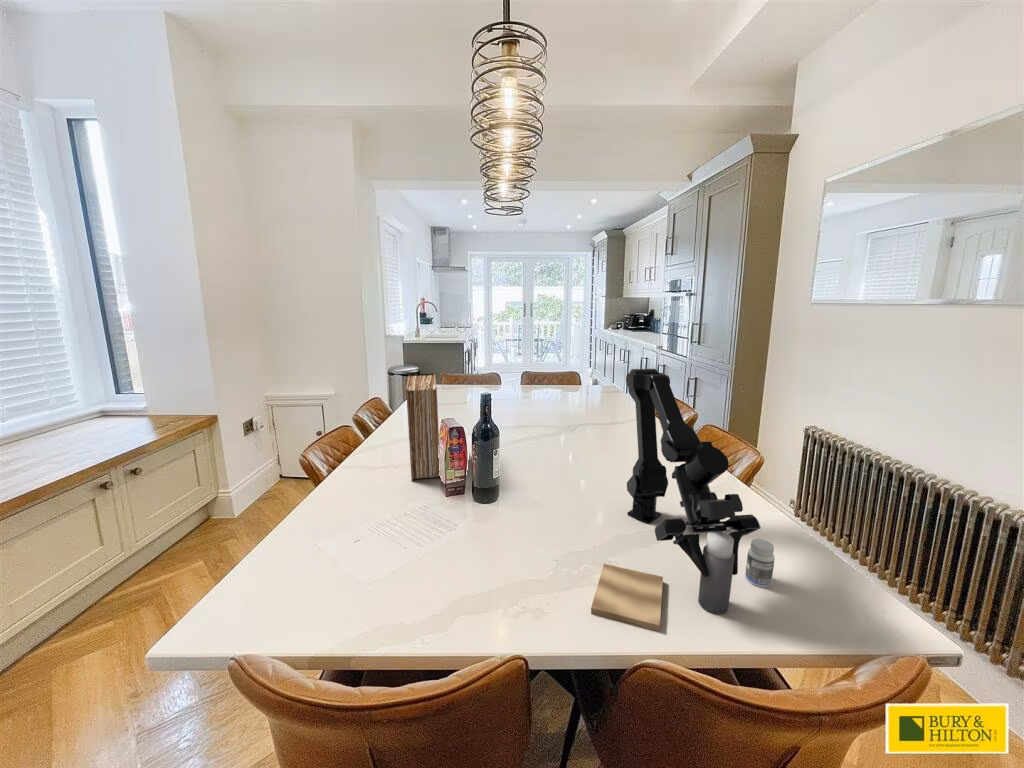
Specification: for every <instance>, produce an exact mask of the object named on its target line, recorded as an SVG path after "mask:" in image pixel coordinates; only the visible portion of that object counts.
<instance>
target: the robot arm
mask: <svg viewBox="0 0 1024 768" xmlns="http://www.w3.org/2000/svg"><path fill="white" fill-rule="evenodd" d="M625 383H626V386H627V388H628V394H629V396H630V397H631V399H632V400H633V401H634V403H635V418H636V436H637V450H638V451H637V455H638V456H637V457H638V458H637V460H636V462H635V464H634V466H633V467H632V475H631V477H630V478H629V479H628V481H627V482H626V491H627V492H628V494H629V495H630V497H632V500H633V501H632V509H631V510H629V511H627V515H628V516H629V517H632V518H635V519H637V520H639V521H641V522H644V523H646V524H650V523H652V522H653V521H655V520H657V518H659V517H661V516H662V513H661V512H659V511H657V499H658V497H659V498H660V497H662V498H665V497H666V496H665V495H666V492H667V489H668V486H669V480H668V477H667V467H666V465H663V463H662V462H661V461H660V459H659V455H658V440H657V439H658V438H657V437H658V435H657V420H656V414H657V417H658V420H659V423H660V426H661V429H662V436H661V439H660V444H661V446H660V447H661V453H662V457H664V458H665V460H666V461H667V462H670V463H682V464H680V465H675V466H674V470H673V471H672V474H671V478H672V479H673V480H674V479H675V480H676V483H677V488H678V491H679V494H680V498H681V500H680V501H679V504H680V508H684V512H685V515H686V518H687V520H686V521H684V520H683V518H671V519H668V518H667V519H663V520H662V521H661V522H659V523H658V524H657V525H655V528H654V534H655V538H656V541H658V542H661V541H672V540H673V541H672V542H673V545H678V547H679V548H681V550H682V551H683V552H684V553H685V554H686V555H687V557H688V558H689V559H690V560H691V562H692V563H693V564H694V566H695V567H696V568H697V570H698V571H699V572H700V574H701V573H702V575H703V576H704V577H708V576H709V575H708V570H707V566H706V563H705V560H704V557H703V550H702V549H701V545H700V534H704V533H705V534H706V533H707V534H708V533H709V532H711V531H720V532H724V533H726V534H728V535H730V536H731V537H732V538H733V539H734V544H733V553H734V555H735V557H734V566H733V574H732V576H736V575H738V574H739V573H738V571H739V570H738V569H739V546H740V541H741V539H742V537H744V536H747V535H750V534H752V533H755V532H756V531H758V530H761V529H762V528H761V524H760V522H759V520H758V518H757V517H756V516H754V515H753V514H738V515H736V513H741V512H743V511H744V508H743V501H742V500H741V498H740V496H739V493H728V494H725V495H724V498H722V499H721V498H720V499H719V498H718V497H717V494H716V492H715V491H713V492H712V491H711V488H710V486H709V484H711V483H712V482H713V481H715V480H717V479H718V478H719V477H720V476H722V475H723V474H724V473H725V472H726V471H727V470H728V468H729V459H728V457H727V456H726V455H725V453H723V451H722V450H720V449H719V448H717V447H715V446H713V443H712V441H710V440H709V441H708V440H707V441H701V440H700V438H699V435H697V433H696V430H695V429H694V428H692V427H691V426H690V425H688V424H687V423H686V422H685V420H684V418H683V415H682V412H681V410H680V408H679V405H678V403H677V400H676V398H675V395H674V393H673V390H672V387H671V379H670V376H669V375H667V374H666V373H664V372H658V370H657V369H656V368H631V370H630V371H629V372H628V373H627V374H626V376H625ZM725 519H727V520H725ZM723 520H725V521H723ZM674 538H675V540H674Z"/></svg>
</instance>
